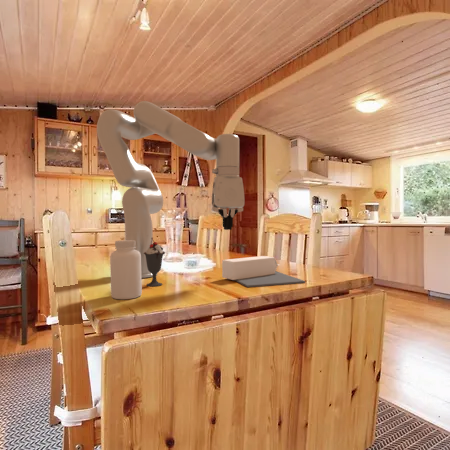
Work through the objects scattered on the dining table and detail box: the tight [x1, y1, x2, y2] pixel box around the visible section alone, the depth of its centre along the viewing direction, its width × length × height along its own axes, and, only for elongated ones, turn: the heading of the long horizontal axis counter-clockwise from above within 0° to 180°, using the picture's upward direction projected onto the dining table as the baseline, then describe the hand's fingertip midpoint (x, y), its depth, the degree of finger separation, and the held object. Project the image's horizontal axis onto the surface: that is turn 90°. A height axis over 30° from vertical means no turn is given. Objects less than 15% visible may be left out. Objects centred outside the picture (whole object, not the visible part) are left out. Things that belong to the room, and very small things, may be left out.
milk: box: [221, 255, 280, 281], centre depth 118 cm, size 6×6×22 cm
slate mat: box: [233, 270, 306, 288], centre depth 113 cm, size 20×20×1 cm
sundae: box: [144, 237, 166, 288], centre depth 104 cm, size 7×7×15 cm
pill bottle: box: [109, 239, 143, 300], centre depth 90 cm, size 8×8×15 cm
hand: (227, 229), depth 110 cm, fingers closed
